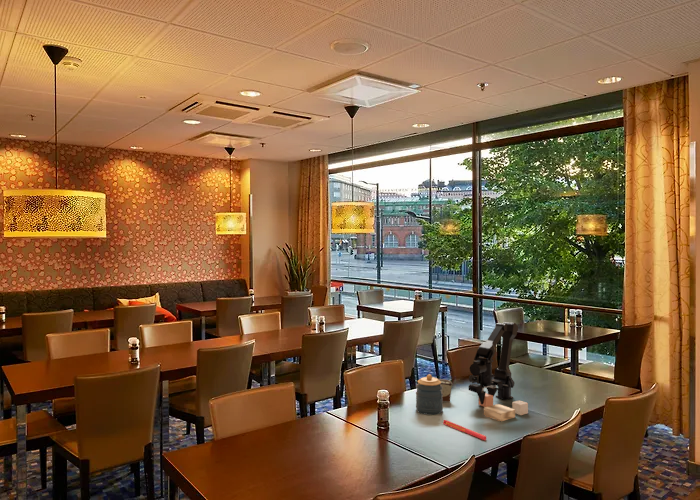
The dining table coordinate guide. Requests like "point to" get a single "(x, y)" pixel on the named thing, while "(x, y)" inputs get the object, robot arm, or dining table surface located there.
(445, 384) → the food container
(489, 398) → the terracotta cube
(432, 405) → the canister
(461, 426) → the chopstick
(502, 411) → the birch base block
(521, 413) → the beige cube
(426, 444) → the dining table surface
